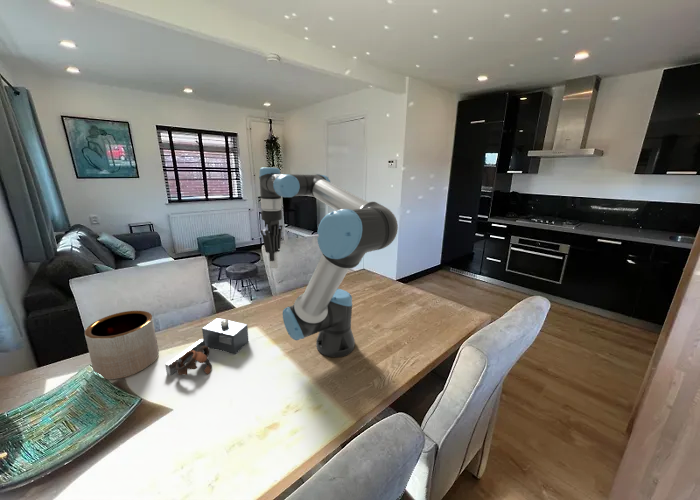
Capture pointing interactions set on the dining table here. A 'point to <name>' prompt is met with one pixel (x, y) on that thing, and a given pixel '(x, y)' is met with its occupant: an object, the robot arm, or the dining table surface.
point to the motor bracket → (216, 340)
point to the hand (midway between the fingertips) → (273, 267)
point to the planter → (122, 344)
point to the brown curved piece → (194, 360)
